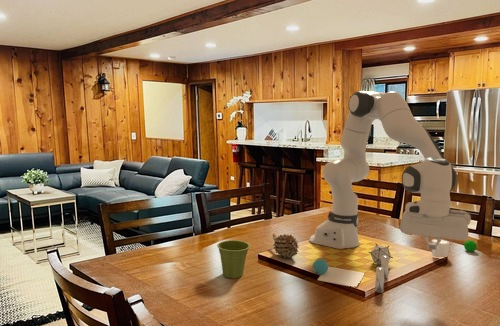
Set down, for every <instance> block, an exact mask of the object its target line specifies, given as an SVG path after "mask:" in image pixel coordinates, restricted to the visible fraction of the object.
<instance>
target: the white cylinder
mask: <svg viewBox="0 0 500 326" xmlns="http://www.w3.org/2000/svg"><path fill="white" fill-rule="evenodd" d="M436 239H437V238H433V239H431V243H436V241H437V240H436ZM450 242H451V241H448V240H446V239H443V238H441V242H440V243H439V244H438V245H437V250H431V255H432V256H435V257H447V258H448V255H449V249H450V244H451V243H450ZM432 256H431V257H432Z"/></svg>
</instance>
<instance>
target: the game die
mask: <svg viewBox="0 0 500 326" xmlns="http://www.w3.org/2000/svg"><path fill="white" fill-rule="evenodd" d="M389 247H390V245H387V246H385V245H378V244H377V243H375V246H374V248H373V249H372V250H371V251H368V253H369V254H370V255H371V259H372V261H373V262H372V265H375V264H377V265H381V256H382V255H386V256H389V261H390V260H391V259H393V258H394V257H393V256H392V255H391V252H390V249H389Z"/></svg>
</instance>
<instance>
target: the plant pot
mask: <svg viewBox="0 0 500 326" xmlns="http://www.w3.org/2000/svg"><path fill="white" fill-rule="evenodd" d="M250 247H251V246H250V243H248V242H246V241H242V240H235V239H233V240H230V239H229V240H223V241H220V242H218V243H217V247H216V248H218V252H219V256H220V262H221V271H222V275H223V277H225V278H228V279H229V278H231V279H237V278H241V277H242V276H243V275H244V269H245V266H246V259H247V255H248V251H249V248H250Z"/></svg>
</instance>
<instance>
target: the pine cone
mask: <svg viewBox="0 0 500 326" xmlns="http://www.w3.org/2000/svg"><path fill="white" fill-rule="evenodd" d="M272 238H273V241H274V243H273V244H272V246H273V248H272V249H274V251H275V254H277V255H278V256H280V257H284V258H289V259H290V258H293V257H295V256H296V255H298V252H299V250H298V249H299V248H300V245H298V244H299V242H298V240H297V237H296V238H295V237H294V236H293V235H292V234H286V233H284V234H280V235H277V234H275V233H273V234H272Z"/></svg>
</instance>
